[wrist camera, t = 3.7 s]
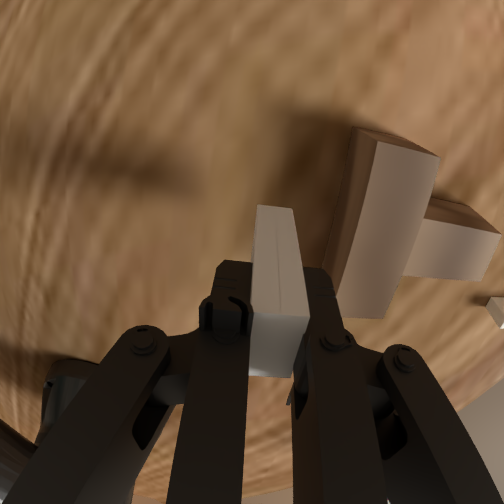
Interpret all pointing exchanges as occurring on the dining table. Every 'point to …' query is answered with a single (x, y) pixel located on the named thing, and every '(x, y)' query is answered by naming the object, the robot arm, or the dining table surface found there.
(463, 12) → the dining table surface
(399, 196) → the t block
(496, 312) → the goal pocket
